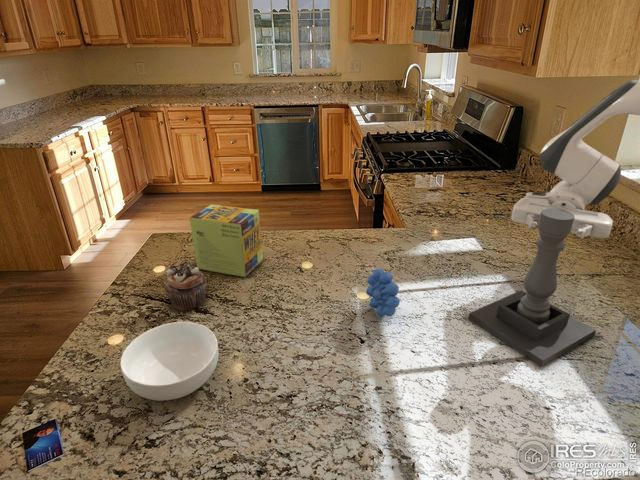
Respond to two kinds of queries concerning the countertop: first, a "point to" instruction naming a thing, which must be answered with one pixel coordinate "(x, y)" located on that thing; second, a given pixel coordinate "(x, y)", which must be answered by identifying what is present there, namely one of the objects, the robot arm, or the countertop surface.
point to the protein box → (227, 239)
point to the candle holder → (545, 265)
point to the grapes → (383, 293)
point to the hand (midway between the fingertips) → (555, 230)
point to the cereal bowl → (170, 360)
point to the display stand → (532, 329)
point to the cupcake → (185, 287)
